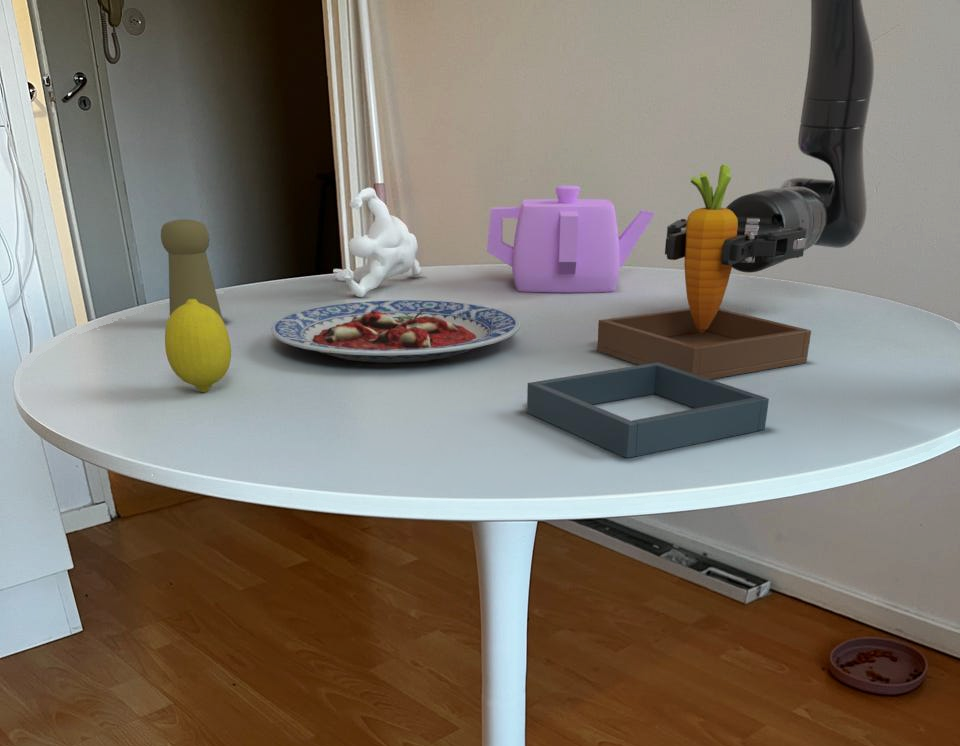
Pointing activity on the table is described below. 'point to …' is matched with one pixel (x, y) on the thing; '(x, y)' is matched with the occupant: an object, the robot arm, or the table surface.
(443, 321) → the ceramic plate
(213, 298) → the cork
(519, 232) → the teakettle
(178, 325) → the lemon
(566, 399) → the dark blue-gray square frame
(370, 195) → the person figurine
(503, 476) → the table surface
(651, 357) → the walnut tray
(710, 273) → the carrot
